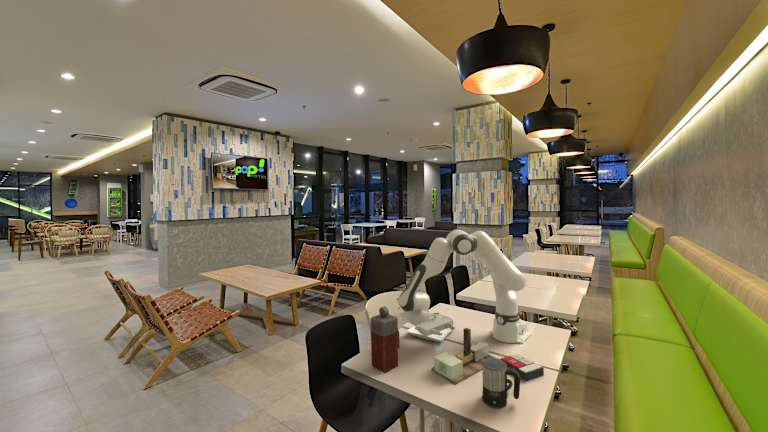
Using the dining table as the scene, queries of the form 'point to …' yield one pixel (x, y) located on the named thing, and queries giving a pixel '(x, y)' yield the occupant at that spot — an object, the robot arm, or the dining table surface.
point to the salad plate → (430, 337)
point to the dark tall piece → (466, 347)
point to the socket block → (448, 365)
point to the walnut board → (465, 371)
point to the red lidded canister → (384, 341)
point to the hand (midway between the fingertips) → (447, 331)
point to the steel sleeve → (480, 351)
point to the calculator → (524, 367)
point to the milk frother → (498, 382)
